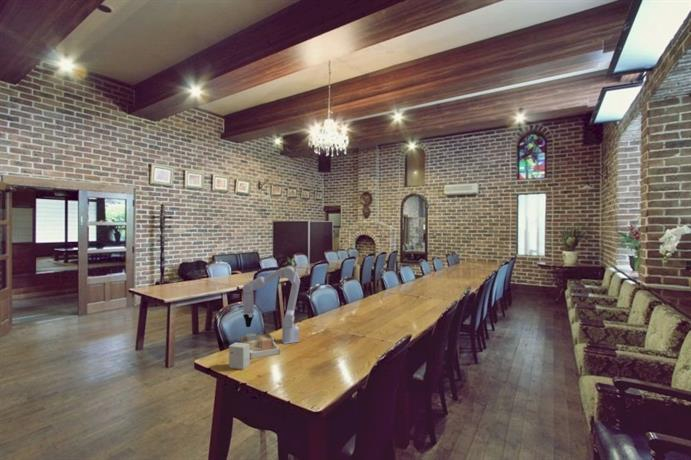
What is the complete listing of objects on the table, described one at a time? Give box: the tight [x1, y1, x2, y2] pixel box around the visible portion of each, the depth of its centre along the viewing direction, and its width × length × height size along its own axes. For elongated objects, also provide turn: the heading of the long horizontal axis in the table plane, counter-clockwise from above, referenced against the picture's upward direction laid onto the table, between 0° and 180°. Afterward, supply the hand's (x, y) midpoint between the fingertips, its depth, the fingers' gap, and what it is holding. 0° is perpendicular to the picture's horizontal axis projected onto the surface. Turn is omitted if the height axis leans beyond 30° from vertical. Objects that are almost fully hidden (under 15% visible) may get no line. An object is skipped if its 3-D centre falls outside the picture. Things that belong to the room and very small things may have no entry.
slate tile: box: [245, 332, 258, 341], centre depth 187 cm, size 5×5×2 cm
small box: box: [228, 342, 251, 370], centre depth 160 cm, size 8×6×10 cm
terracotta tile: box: [261, 339, 271, 351], centre depth 181 cm, size 5×5×2 cm
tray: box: [250, 341, 281, 360], centre depth 177 cm, size 16×12×3 cm
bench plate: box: [240, 333, 275, 350], centre depth 188 cm, size 16×12×4 cm
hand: (248, 326), depth 194 cm, fingers closed
